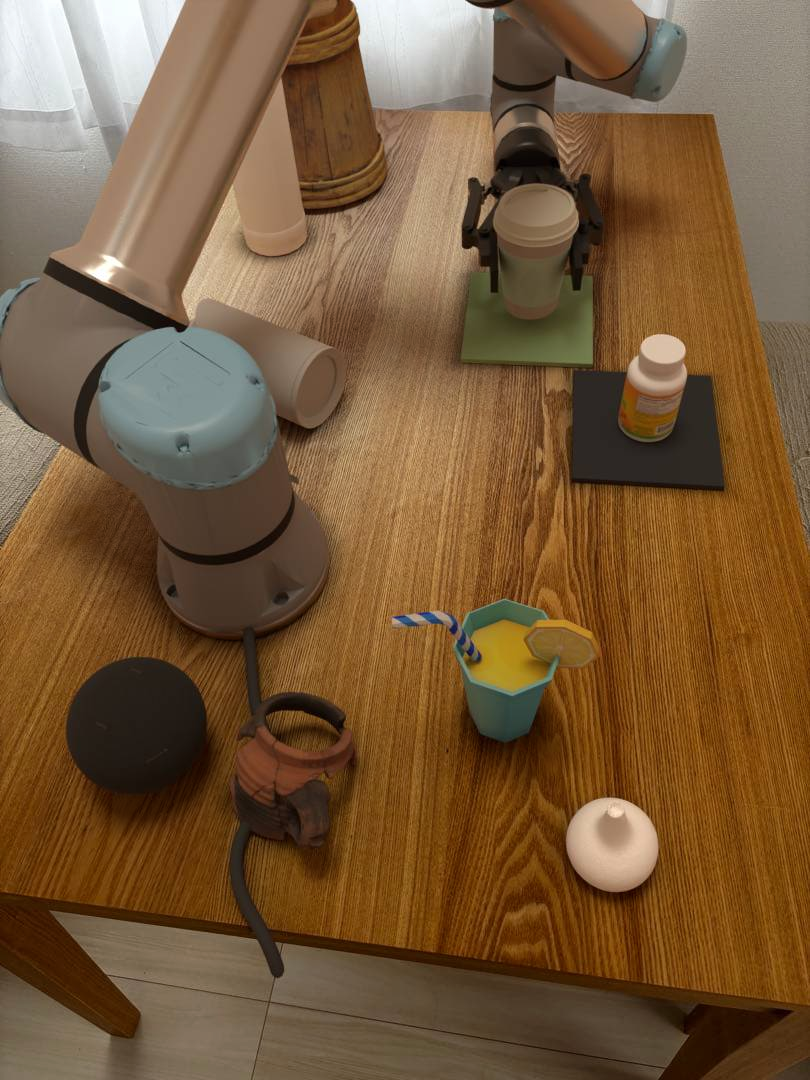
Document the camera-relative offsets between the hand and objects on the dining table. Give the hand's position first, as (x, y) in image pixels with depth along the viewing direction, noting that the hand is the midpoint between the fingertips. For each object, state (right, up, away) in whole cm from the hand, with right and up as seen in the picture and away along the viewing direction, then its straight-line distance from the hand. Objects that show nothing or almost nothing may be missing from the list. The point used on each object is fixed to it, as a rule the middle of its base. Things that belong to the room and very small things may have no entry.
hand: (536, 280), depth 87 cm
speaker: (-33, -43, -18) cm, 57 cm away
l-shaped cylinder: (-30, -12, +5) cm, 32 cm away
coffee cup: (+1, 0, +8) cm, 8 cm away
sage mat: (+1, -1, +10) cm, 10 cm away
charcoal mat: (+11, -15, -1) cm, 18 cm away
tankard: (-24, +25, +32) cm, 47 cm away
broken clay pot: (-21, -45, -21) cm, 54 cm away
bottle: (-29, +12, +22) cm, 39 cm away
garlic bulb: (+1, -48, -25) cm, 54 cm away
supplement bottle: (+11, -15, -1) cm, 18 cm away
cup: (-6, -40, -18) cm, 44 cm away
